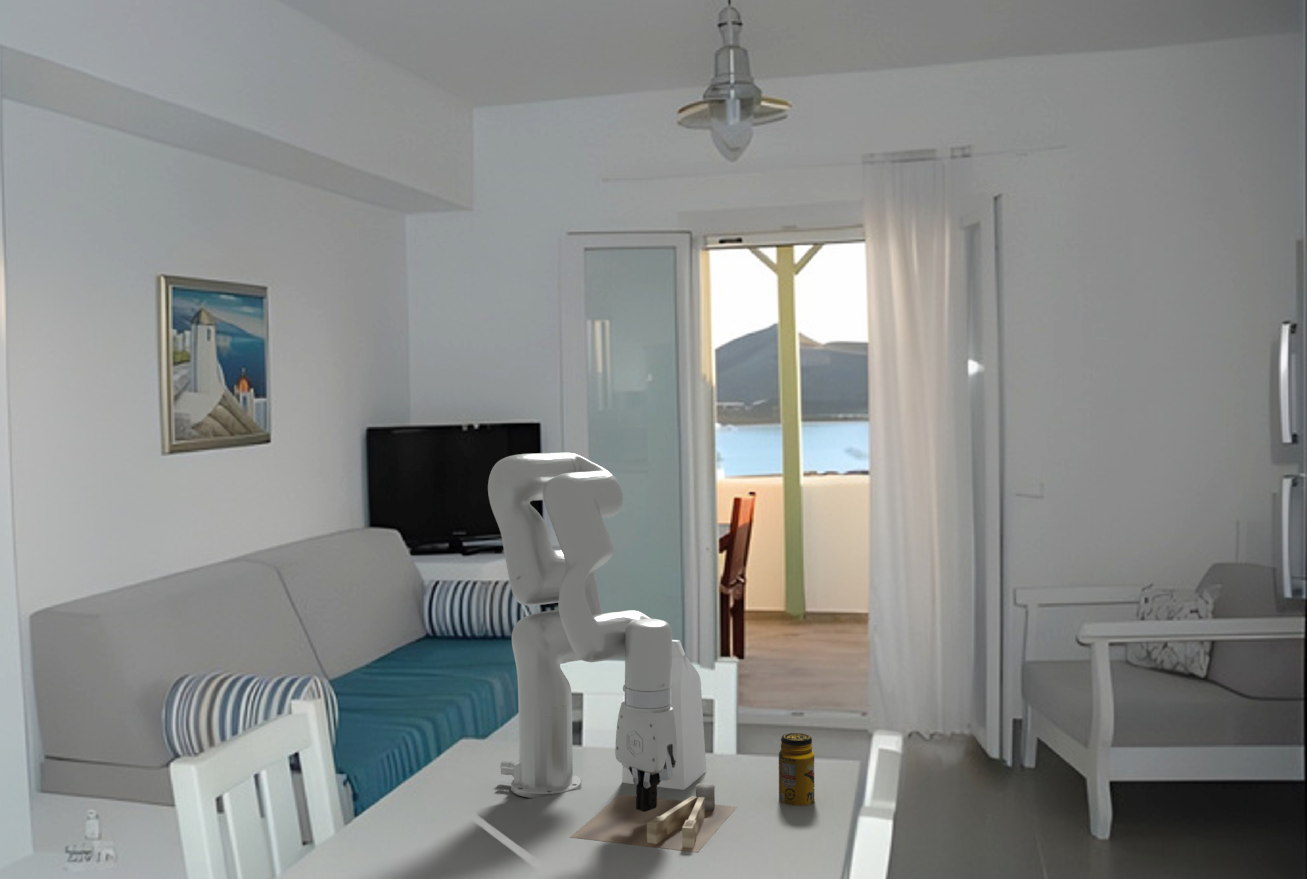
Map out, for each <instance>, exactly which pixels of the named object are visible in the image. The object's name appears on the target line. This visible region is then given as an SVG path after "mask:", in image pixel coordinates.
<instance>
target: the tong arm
mask: <svg viewBox="0 0 1307 879" xmlns="http://www.w3.org/2000/svg"><path fill="white" fill-rule="evenodd" d="M682 801H683V802H682V803H680V804H678V805H677V806H675V807H674V808H672V809H671V810H669V811H667V812H666V813H664V814H663V815H661V816H660V817H659V816H657V817H656V818H654V819H653V820H651V821H649V822H648V823H647V843H653V844H657V843H658V842H660V841H661V840H663V839H664V838H666V837H667V835H668V834H670V833H671V832H673V831H674V830H676V829H677V828H679V827H680V826H682V825H683V824H684V823H685V821H686V820H688V819H689V817H690V814H691V812H692V810H693V808H694V806H695V804H696V802H697V797H696V796H694V795H691V796H690V797H688V798H687V799H684V800H682Z"/></svg>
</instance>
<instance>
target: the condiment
mask: <svg viewBox="0 0 1307 879" xmlns="http://www.w3.org/2000/svg"><path fill="white" fill-rule="evenodd" d="M812 742H813V739H812V736H810V735H808V734H806V733H801V732H788V733H785V734H782V736H781V738H780V750H779V752H778V802H780V803H781V804H784V805H787V806H794V807H795V806H796V807H797V806H799V807H800V806H802V807H803V806H809V805H812V804H813V803H814V802H815V753H814V752H813V744H812Z"/></svg>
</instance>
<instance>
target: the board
mask: <svg viewBox="0 0 1307 879" xmlns="http://www.w3.org/2000/svg"><path fill="white" fill-rule="evenodd" d="M683 801H684V800H677V799H676V800H675V799H666V798H659V797H657V807H656V808H655V809H652V810H649V811H646V812H642V811H641V810H637V809H636V795H628V794H619V795H618V796H617V797H615V798H614V799H613V800H612V801H611V802H609V803H608V804H607V805H606V806H605V807H604V808H603V809H601V810H600V811H599V812H598V813H597V814H595V815H594V816H593V817H592V818H590V819H589V820H588V821H587V822H585V824H583V825H582V826H581V827H579V829H578V830H576V831H575V832H574V833H572V835H570V836H569V838H571V839H581V840H589V841H596V842H597V841H598V842H607V843H615V844H620V845H621V844H622V845H630V846H640V847H647V848H657V849H665V850H672V851H673V850H674V851H681V852H690V853H697V854H698V853H699V851H701V850H702V848H703V847H704V846H705V845H706V844H707V842H709V840H710V839H711V838H712V837H713V835H714V834H716V832H717V831H718V830H719V829H720V827H722V826H723V825H724V823H725V822H726V821H727V819H728V818H730V816H731V815H732V814H733V813H734V812H735V810H736V809H737V808H738V806H735V805H734V806H731V805H725V804H715V808H714V809H713V810H708V811H705V816H704V818H703V821H702V823H701V825H700V828H699V830H698V832H697V835H696V841H695V844H694V846H693V848H688V847H682V827H683V825H684V824H683V825H682V826H680V827H679V828H677V829H676V830H674V831H673V832H671V833H670V834H668V835H667V837H666V838H664V839H663V840H661V841H660V842H658V843H657V844H653V843H647V823H648V822H649V821H651V820H653V819H654V818H656V817H657V816H659V817H660V816H661V815H663V814H664V813H666V812H667V811H669V810H671V809H672V808H674V807H675V806H677V805H678V804H680V803H682V802H683Z"/></svg>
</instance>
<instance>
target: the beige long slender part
mask: <svg viewBox="0 0 1307 879" xmlns="http://www.w3.org/2000/svg"><path fill="white" fill-rule="evenodd" d="M715 788H716V786H715V785H714V784H712V783H706V782H704V783H703V782H702V783H698V784H696V785H695V797H697V802H696V804H695V806H694V808H693V810H692V812H691V814H690V817H689V819H688V820H686V821H685V823H684V825H683V827H682V847H688V848H693V846H694V844H695V841H696V835H697V832H698V830H699V828H700V825H701V823H702V821H703V818H704V816H705V811H708V810H713V809H714V808H715V805H716V804H715V800H716V799H715V792H716V790H715Z"/></svg>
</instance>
